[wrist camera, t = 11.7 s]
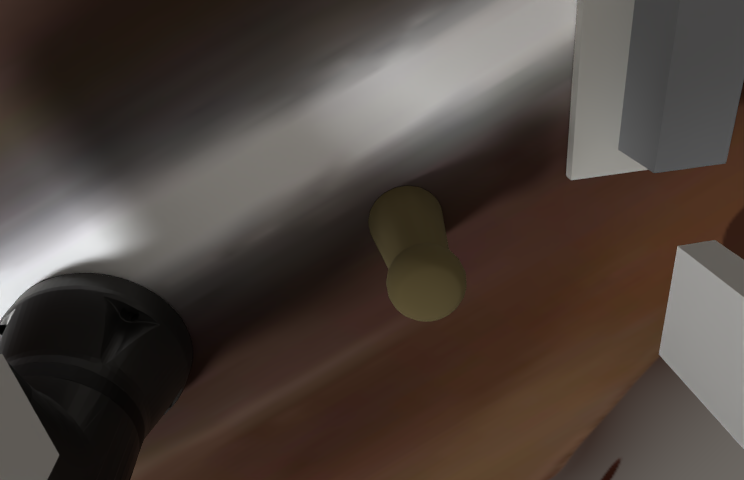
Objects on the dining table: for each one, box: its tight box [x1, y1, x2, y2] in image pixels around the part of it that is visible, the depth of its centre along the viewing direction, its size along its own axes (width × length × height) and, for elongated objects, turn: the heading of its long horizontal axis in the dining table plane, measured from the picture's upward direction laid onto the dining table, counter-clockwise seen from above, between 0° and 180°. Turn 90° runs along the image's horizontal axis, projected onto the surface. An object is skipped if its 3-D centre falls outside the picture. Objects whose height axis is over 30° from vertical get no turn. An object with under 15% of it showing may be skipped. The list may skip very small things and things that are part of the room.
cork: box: [368, 186, 466, 322], centre depth 39 cm, size 6×6×11 cm
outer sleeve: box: [618, 0, 744, 173], centre depth 36 cm, size 12×5×5 cm, turn 6°
